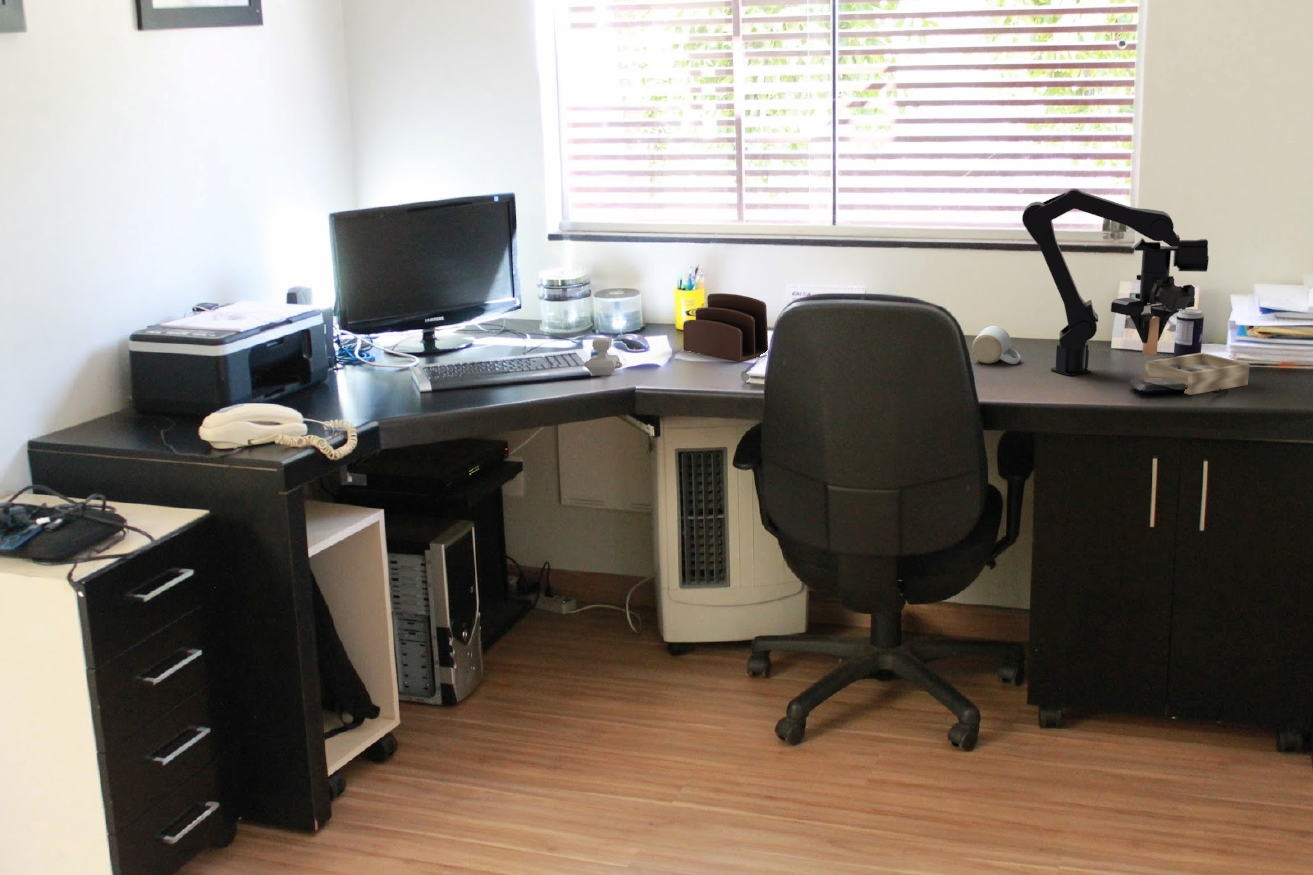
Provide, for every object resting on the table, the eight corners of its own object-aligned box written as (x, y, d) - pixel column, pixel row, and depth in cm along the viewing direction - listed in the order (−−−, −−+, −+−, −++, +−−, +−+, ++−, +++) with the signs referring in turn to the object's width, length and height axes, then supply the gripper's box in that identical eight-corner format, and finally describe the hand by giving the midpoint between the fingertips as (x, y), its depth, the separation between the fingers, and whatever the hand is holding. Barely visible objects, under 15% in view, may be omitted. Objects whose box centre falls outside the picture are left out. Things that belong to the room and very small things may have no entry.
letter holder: (710, 344, 334) (709, 289, 330) (769, 355, 321) (768, 298, 317) (682, 351, 328) (681, 295, 324) (741, 363, 314) (740, 304, 310)
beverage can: (1202, 366, 295) (1206, 313, 292) (1175, 366, 296) (1179, 313, 293) (1197, 360, 301) (1201, 308, 297) (1171, 360, 302) (1175, 308, 298)
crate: (1190, 394, 272) (1192, 373, 271) (1144, 381, 284) (1145, 361, 283) (1247, 384, 279) (1249, 364, 277) (1200, 372, 290) (1202, 352, 289)
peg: (1149, 355, 286) (1151, 319, 284) (1139, 353, 289) (1141, 317, 287) (1159, 354, 288) (1162, 317, 285) (1149, 351, 290) (1152, 315, 288)
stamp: (625, 370, 310) (623, 335, 307) (619, 377, 303) (618, 341, 301) (587, 370, 311) (585, 335, 309) (581, 377, 305) (579, 341, 302)
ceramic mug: (969, 363, 305) (971, 331, 303) (978, 356, 312) (979, 324, 310) (1015, 367, 300) (1017, 334, 298) (1023, 360, 307) (1025, 327, 305)
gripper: (1149, 280, 273) (1144, 354, 277) (1217, 271, 280) (1211, 343, 284) (1111, 273, 282) (1106, 344, 287) (1177, 265, 289) (1172, 334, 294)
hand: (1150, 342), depth 288 cm, fingers closed on peg, 3 cm apart
